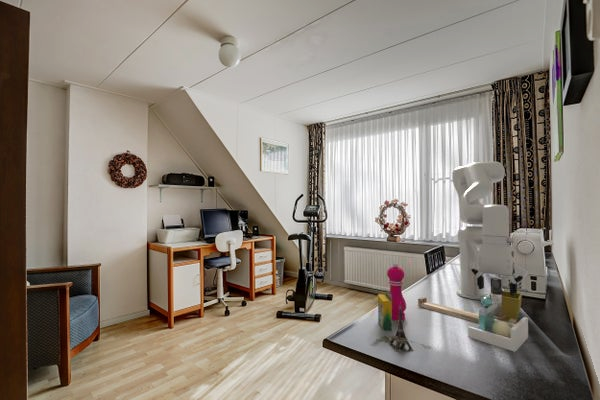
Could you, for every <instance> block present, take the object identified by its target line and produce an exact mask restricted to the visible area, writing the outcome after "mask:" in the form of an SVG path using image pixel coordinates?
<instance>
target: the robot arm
mask: <svg viewBox="0 0 600 400" xmlns="http://www.w3.org/2000/svg"><path fill="white" fill-rule="evenodd" d="M505 175H506V171H505V167H504V165H503V164H502V163H501V162H499V161H479V162H478V161H476V162H472V163H468V164H467V165H464V166H458V167H456V168H454V169H453V171H452V184H453V186H454V189H455V191H456V194H457V196H458V208H459V209H458V210H459V211H458V212H459V218H460V221H461V222H462V223H464V224H467V225H469V226H466V225H465V226H462V227H460V228H459V229H458V231H457V241H458V246H459V271H460V274H459V275H460V277H459V279H460V280H459V281H460V289H458V290H456V295H458V296H460V297H462V298H466V299H470V300H478V301H479V300H480V301H481V299H482V298H483V297H488V298H490V295H489V294H488V293H486V289H485V288H486V284H485V281H486V279H485V277H486V276H485V275H486V274H489V275H490V274H491V275H497V276H503V277H507V278H508V279H509V281H510V283H509V292H510V295H511V296H513V295H515V293H518V283H519V282H520V281H522V280H523V279H525V277H526V276H527V274H528V271H527V270H526V269H524V268H522V267H521V266H519V265H518V264H516V258H515V257H516V256H515V253H514V248H513V247H514V246H513V245H510V244H512V243H513V244H514V243H515V238H512V237H511V236H510V216H509V215H510V213H509V211H510V210H509V207H508V206H507V205H504V204H502V205H501V204H495V203H494V204H493V203H481V202H480V200H482V199H484V198H486V197H488V196H490V195H491V194H492V193H493V191H494V185H493V184H494V183H499V182H501V181H503V179H504V178H505ZM471 225H473V226H471ZM479 225H480V226H479ZM481 225H482V226H481ZM516 272H518V273H519V275H518V276H516V275H515V274H516Z"/></svg>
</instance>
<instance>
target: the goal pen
mask: <svg viewBox="0 0 600 400" xmlns="http://www.w3.org/2000/svg"><path fill="white" fill-rule="evenodd" d="M497 321H501V320H497V319H494V323H495V322H497ZM502 322H505V323H506V324H508V325H509V326H510V328H511V336H510V337H509V338H507V337H504V336H501V335H497V334H494V333H493V332H492V331H490V332H487V331H484V330H480V329H479V328H478V327H477V328H476V327H473V326H468V327H467V332H468V333H467V335H468V336H467V337H468V338H470V339H475V340H477V341H480V342H483V343H486V344H488V345H489V344H490V345H493V346H495V347H498V348H502V349H505V350H508V351H511V352H513V353H516V352H517V351H518V350H519V349H520V348H521V346H522V345H523V344H524V343H525V342H526V341H527V340H528V338H529V318H528V317H525V316H523V317H522V318H520V319H519V321H518V322H516V324H512V323H508V321H506V320H505V321H502Z"/></svg>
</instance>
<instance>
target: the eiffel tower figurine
mask: <svg viewBox="0 0 600 400" xmlns="http://www.w3.org/2000/svg"><path fill="white" fill-rule="evenodd" d="M399 308H400V309H399V321H398V324H397V327H396V331H395V334H393V335H384V336H382V337H380V338H377V339H375V340H373V342H371V345H372V346H374V347H376V346H377V345H380V344H382V343H383V342H385V343H388V345H389V346H390V347H391V349H393V351H394V352H396V353H398V352H399V353H401V352H414V349H413V347H412V346H411V344H418V345H421V346H422V347H423V348H424V349H427V350H432V349H433V348H434V346H429V345H426V344H423V343H418V342H415V341H413V340H409V339H408V337H407V336H406V333H405V329H404V324H403V320H402V310H401V308H402V306H401V302H400V306H399Z"/></svg>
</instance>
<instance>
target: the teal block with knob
mask: <svg viewBox="0 0 600 400" xmlns="http://www.w3.org/2000/svg"><path fill="white" fill-rule="evenodd" d="M502 291H503V279H502V278H501V277H497V276H491V277H490V293H491V299H490V297H489V298H488V297H483V298H482V299H481V300H480V303H481V305H483V306H481V307H480V308H479V309H478V315H479V323H478V329H480V330H484V331H487V332H493V331H492V325H493V324H494V319H497V320H501V321H505V322H506V320H505V315H502Z"/></svg>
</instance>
